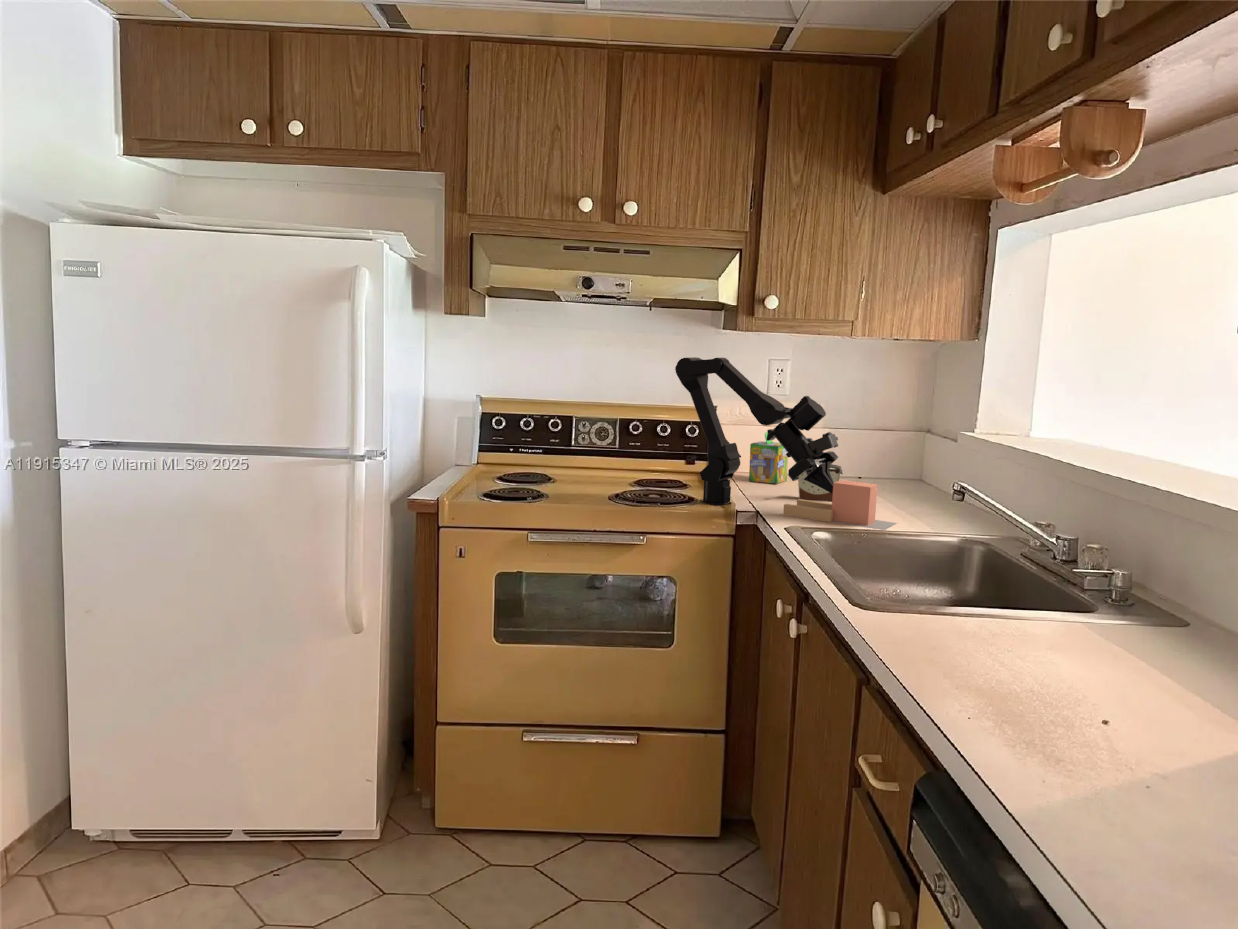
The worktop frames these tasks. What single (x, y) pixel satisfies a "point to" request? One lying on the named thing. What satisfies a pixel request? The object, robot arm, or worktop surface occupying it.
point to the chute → (824, 513)
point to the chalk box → (768, 462)
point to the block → (854, 502)
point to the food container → (815, 492)
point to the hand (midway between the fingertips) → (835, 492)
